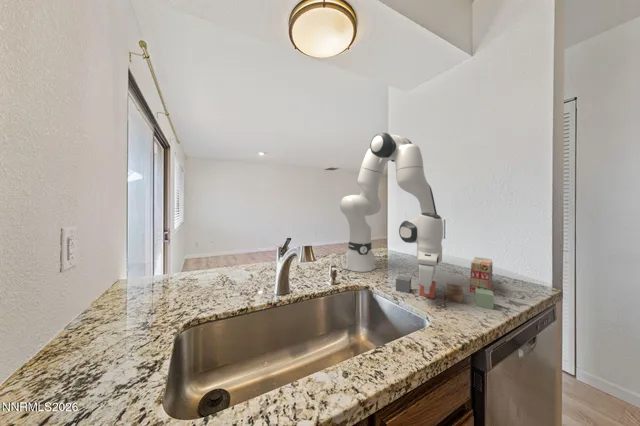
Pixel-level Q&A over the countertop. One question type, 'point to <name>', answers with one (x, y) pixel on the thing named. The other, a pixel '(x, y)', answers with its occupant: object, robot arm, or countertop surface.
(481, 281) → the cardboard box
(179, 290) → the countertop surface
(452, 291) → the walnut cube
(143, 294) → the countertop surface
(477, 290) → the sage cube
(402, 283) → the charcoal cube
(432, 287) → the red cube
